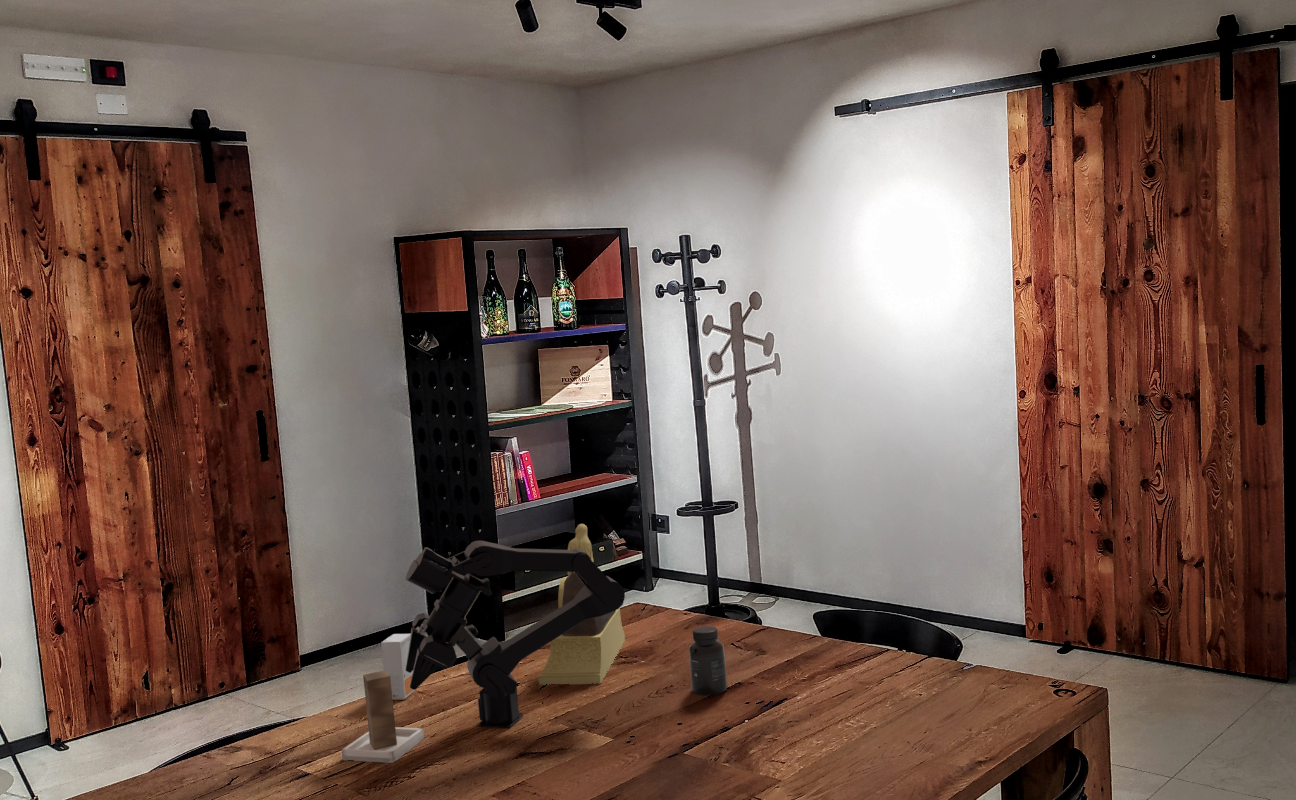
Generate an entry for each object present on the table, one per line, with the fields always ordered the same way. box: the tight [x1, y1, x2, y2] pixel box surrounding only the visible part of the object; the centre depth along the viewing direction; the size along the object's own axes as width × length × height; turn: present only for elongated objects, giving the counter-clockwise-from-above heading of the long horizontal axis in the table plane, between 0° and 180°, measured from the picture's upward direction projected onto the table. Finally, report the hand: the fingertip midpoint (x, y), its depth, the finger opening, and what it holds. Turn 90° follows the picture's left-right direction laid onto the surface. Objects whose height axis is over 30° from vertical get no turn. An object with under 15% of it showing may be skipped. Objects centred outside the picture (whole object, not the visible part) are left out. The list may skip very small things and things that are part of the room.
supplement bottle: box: [688, 625, 728, 697], centre depth 211 cm, size 7×7×12 cm
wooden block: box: [362, 670, 397, 750], centre depth 194 cm, size 4×4×12 cm
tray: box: [341, 726, 425, 764], centre depth 194 cm, size 10×11×2 cm
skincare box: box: [380, 633, 416, 701], centre depth 222 cm, size 6×4×12 cm
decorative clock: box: [537, 523, 626, 686], centre depth 234 cm, size 28×13×30 cm, turn 171°
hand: (410, 680), depth 198 cm, fingers open, 9 cm apart
